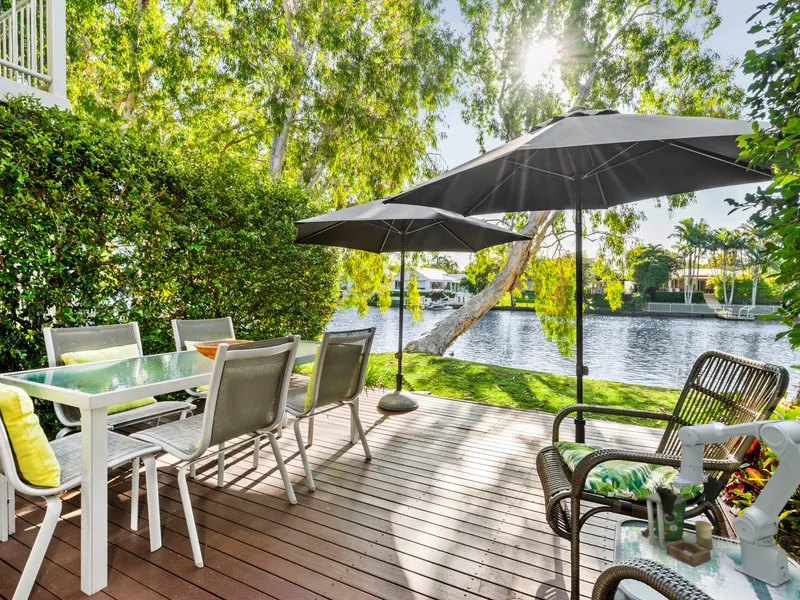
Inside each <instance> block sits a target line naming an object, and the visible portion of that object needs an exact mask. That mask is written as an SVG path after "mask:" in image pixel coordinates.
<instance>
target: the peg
mask: <svg viewBox="0 0 800 600" xmlns="http://www.w3.org/2000/svg"><path fill="white" fill-rule="evenodd" d="M694 524H695V535H696V536H695V537H696V545H698V546H700V547H703V548H705V549H707V550H710V551H712V549H714V547H713V546H714V545H713V535H712V533H713V532H712V524H711V523H710V522H708V521H705V520H696V521H695V523H694Z"/></svg>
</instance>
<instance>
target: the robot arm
mask: <svg viewBox="0 0 800 600" xmlns="http://www.w3.org/2000/svg"><path fill="white" fill-rule="evenodd" d="M747 436H754V437H755V438H756V439H757V440H758V441H761V440H762V441H763V443H764V444H765V445H766V447H768V448H769V449H770V451H771V452H772V453H773V454H774V455H775V457H777V459H778V460H779V463H778V465H777V467H776V468H775V470H774V471H773V473H772V475H771V476H770V478H769V479H768V481H767V483H766V484H765V486H764V487H763V488H762V490H761V491H760V493H759V495H758V496H757V498H756V500H755V501H754V503H753V504H752V505H751V506H750V507H748V508H747V509H745V510H744V511H743V512H742V514H741V515H739V516H736V517H734V518H733V520H732V522H731V523H732V524H731V525H732V529H733V531H734V532H735V534H736V535H737V536H738V540H739V546H740V555H741V556H740V557H741V558H740V559H741V564H739V565H737V566H735V567H734V570H736V571H737V572H741V573H742V574H744V575H747V576H749V577H751V578H754V579H756V580H758V581H760V582H763V583H766V584H767V585H770V586H772V587H778V586H780V585H782V584H783V583H786V582H787V581H789V580H791V576H790V573H789V564H788V563H789V560H788V554H787V552H786V550H785V549H784V548H781V547H779V546H778V545H776V544H775V543H774V540H775V539H774V536H775V535H777V533H779V531H778V530H779V522H780V521H781V518H780V517H779V515H780V514H781V512H782V510H783V509H784V507H785V506H786V505H787V503H788V501H789V500H790V499H791V497H792V496H793V494H794V493H795V491H796V490H797V489H798V487H799V485H800V421H798V420H795V419H786V420H783V421H782V420H781V419H772V420H771V419H770V420H769V419H768V420H756V421H750V422H745V423H744V422H742V423H737V424H732V425H726V424H724V423H722V422H719V421H716V420H710V421H708V423H705V424H704V423H702V424H701V423H695V424H694V425H689V426H688V425H685V426H682V427H680V428H679V429H678V431H677V437H678V440H679V441H680V442H681V451H680V452H681V454H680V455H681V456H680V471H679V473H676V476H677V478H676V479H674V480H673V484H672V485H673V488H676V489H679V490H682V488H684V487H685V488H686V487H688V486H700V485H702V487H703V495H704V496H703V498H704V501H706V502H708V503H710V504H714V501H715V499H716V497H717V493H718V491H719V489H720V488H721V487H722V486H723V481H721V480H718V478H717V477H713V476H708V475H706V474H703V473H704V472H703V470H704V450H705V447H706V445H709V444H710V445H711V444H719V443H720V444H722V443H726V442H729V440H730V439H731V437H732V438H733V437H747ZM655 492H656V493H658V495H659V497H660V500H661V503H662V507H663V511H664V513H666V514H668V515H672V513H673V507H674V503H675V500H676V498H677V497H678V495H679V494H678V495H676V494H677V493H675V494H673V493H674V492H673V491H672V489H670V488H669V489H668V487H663V486H657V487H656V488H655Z"/></svg>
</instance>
